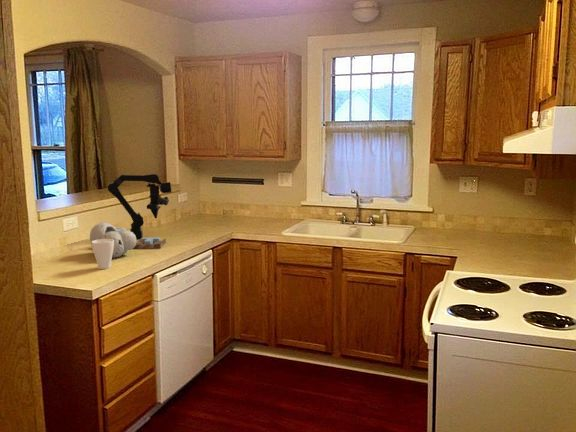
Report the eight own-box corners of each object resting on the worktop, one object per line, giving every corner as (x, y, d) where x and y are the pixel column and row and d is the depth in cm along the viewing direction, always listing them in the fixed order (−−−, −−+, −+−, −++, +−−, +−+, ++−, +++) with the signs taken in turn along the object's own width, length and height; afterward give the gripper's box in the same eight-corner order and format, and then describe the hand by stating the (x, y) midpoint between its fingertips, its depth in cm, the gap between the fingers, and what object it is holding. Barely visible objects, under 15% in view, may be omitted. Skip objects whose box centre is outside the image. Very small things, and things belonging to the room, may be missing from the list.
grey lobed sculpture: (109, 249, 268) (112, 210, 276) (79, 261, 281) (83, 223, 290) (141, 258, 283) (143, 221, 292) (112, 269, 296) (114, 233, 305)
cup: (107, 271, 254) (105, 243, 252) (88, 269, 257) (86, 242, 255) (119, 265, 264) (118, 239, 262) (101, 264, 267) (99, 238, 265)
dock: (134, 248, 301) (133, 244, 301) (141, 243, 316) (140, 239, 315) (160, 248, 301) (160, 244, 301) (166, 242, 316) (165, 238, 315)
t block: (138, 248, 303) (138, 241, 302) (143, 244, 313) (143, 237, 313) (156, 247, 303) (155, 241, 302) (160, 243, 313) (160, 237, 313)
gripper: (164, 195, 321) (165, 220, 323) (170, 191, 339) (171, 215, 342) (145, 195, 321) (147, 220, 323) (153, 192, 339) (154, 215, 342)
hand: (155, 218), depth 333 cm, fingers closed
